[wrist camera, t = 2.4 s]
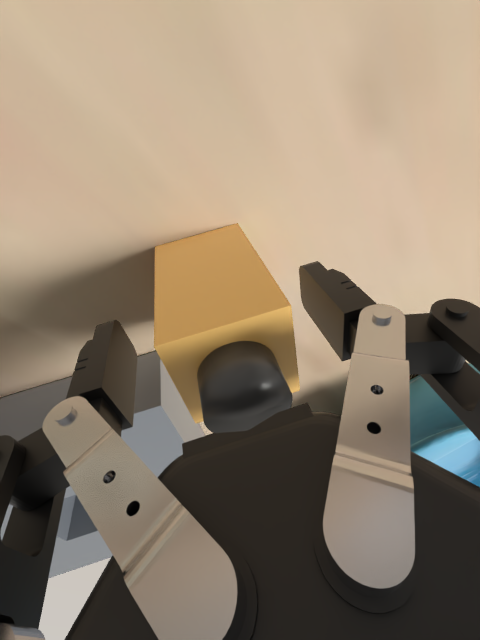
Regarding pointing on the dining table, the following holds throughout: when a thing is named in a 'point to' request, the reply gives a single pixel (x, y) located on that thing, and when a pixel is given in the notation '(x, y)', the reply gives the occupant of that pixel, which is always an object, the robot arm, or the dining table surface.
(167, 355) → the plug
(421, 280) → the dining table surface
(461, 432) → the casserole dish
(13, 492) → the robot arm
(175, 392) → the socket
